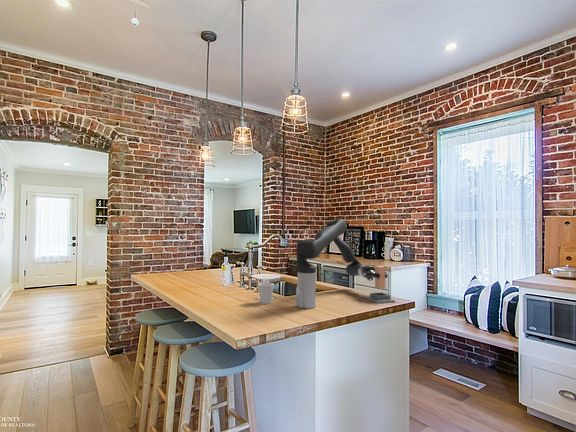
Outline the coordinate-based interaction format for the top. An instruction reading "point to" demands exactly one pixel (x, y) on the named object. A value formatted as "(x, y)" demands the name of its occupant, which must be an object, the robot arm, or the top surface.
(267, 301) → the dixie cup
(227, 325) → the top surface
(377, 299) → the socket board
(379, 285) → the terracotta peg
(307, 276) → the robot arm
